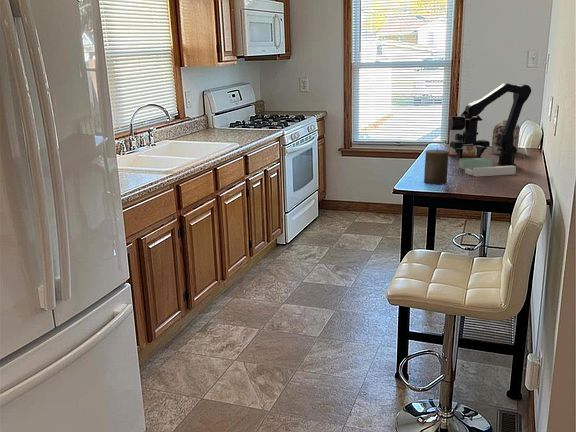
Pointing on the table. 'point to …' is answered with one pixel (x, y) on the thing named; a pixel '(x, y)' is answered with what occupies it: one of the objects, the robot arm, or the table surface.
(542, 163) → the table surface
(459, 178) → the table surface
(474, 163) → the bar
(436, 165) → the pillar candle
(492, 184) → the table surface
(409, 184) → the table surface
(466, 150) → the cracker box
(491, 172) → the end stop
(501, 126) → the decorative jar
